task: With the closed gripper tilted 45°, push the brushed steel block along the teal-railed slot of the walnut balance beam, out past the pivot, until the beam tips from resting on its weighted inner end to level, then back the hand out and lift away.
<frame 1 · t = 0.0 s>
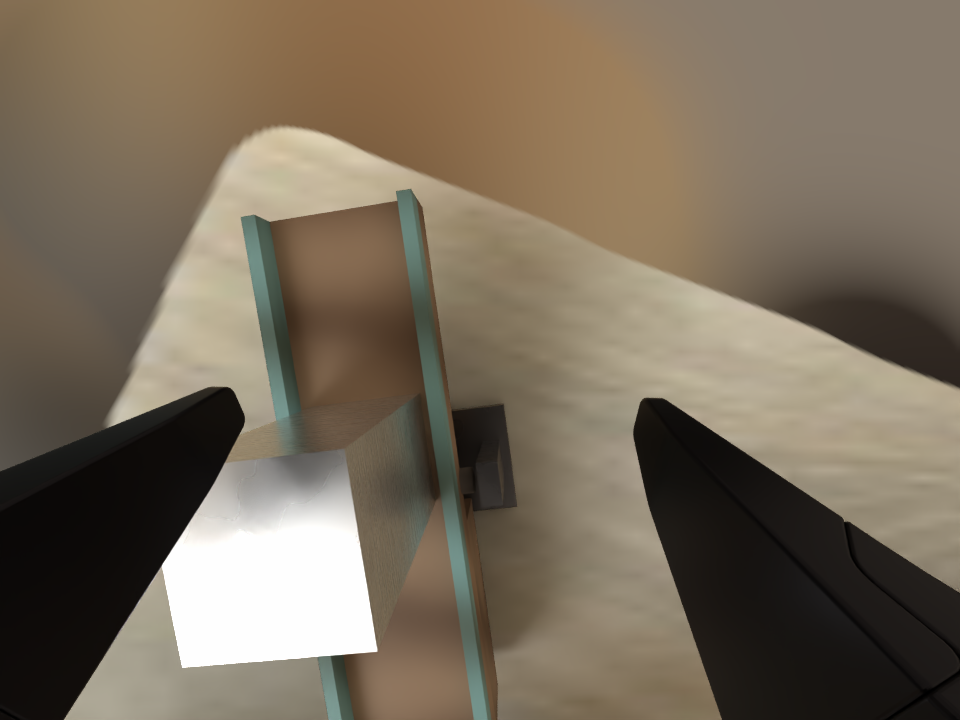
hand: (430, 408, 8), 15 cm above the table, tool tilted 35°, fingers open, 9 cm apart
balance beam: (389, 487, 18), point 5 cm above the table, hinge at -5.8°, touching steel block
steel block: (373, 454, 17), point 6 cm above the table, tilted 6°, touching balance beam
beam stand: (414, 463, 23), on the table
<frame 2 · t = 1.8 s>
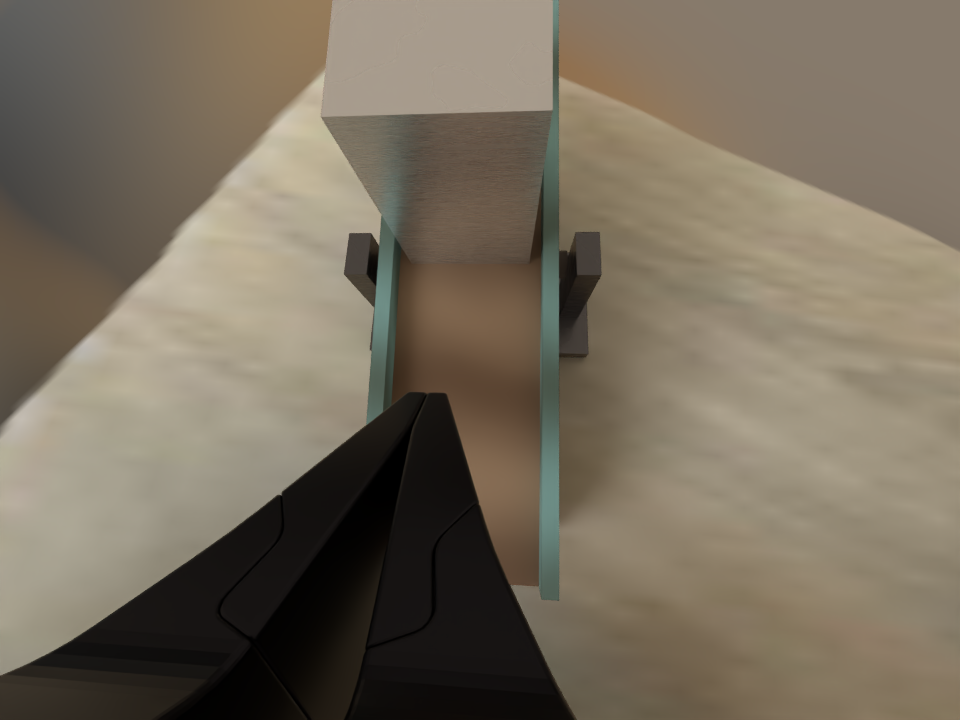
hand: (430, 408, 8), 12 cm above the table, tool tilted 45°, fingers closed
balance beam: (472, 265, 17), point 5 cm above the table, hinge at -5.4°, touching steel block
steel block: (471, 209, 16), point 6 cm above the table, tilted 5°, touching balance beam
beam stand: (479, 306, 22), on the table
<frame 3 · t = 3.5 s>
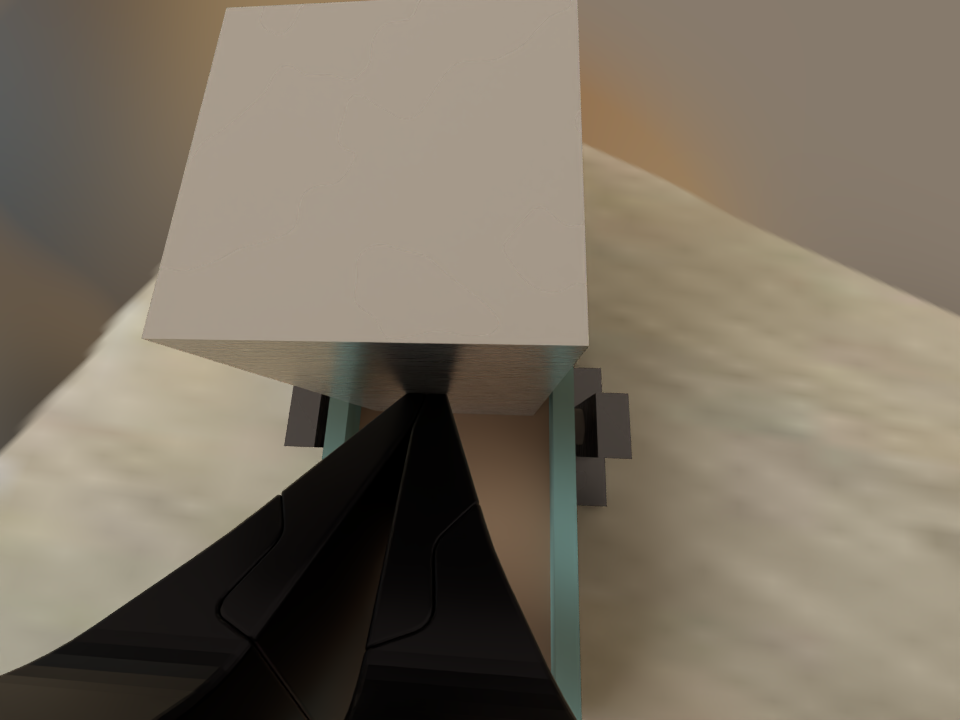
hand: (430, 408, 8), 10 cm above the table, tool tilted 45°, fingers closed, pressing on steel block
balance beam: (458, 422, 13), point 5 cm above the table, hinge at -0.4°
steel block: (457, 337, 12), point 6 cm above the table, touching gripper
beam stand: (470, 431, 18), on the table
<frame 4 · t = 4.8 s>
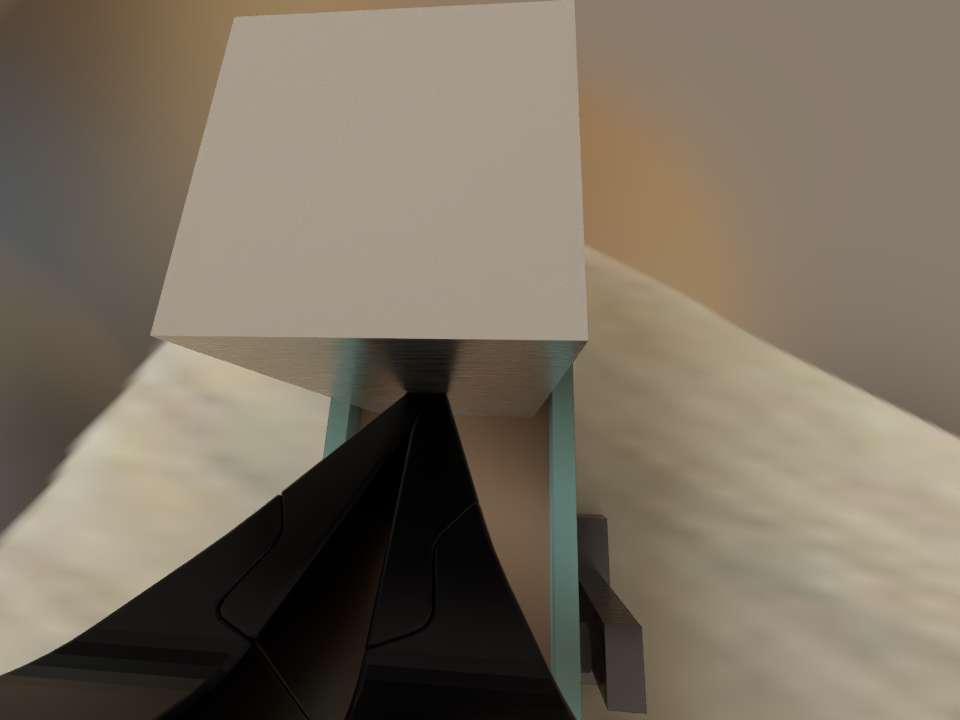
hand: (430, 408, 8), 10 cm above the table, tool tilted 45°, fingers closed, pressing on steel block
balance beam: (447, 634, 12), point 5 cm above the table, hinge at 0.4°
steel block: (457, 340, 13), point 6 cm above the table, touching gripper
beam stand: (464, 582, 16), on the table
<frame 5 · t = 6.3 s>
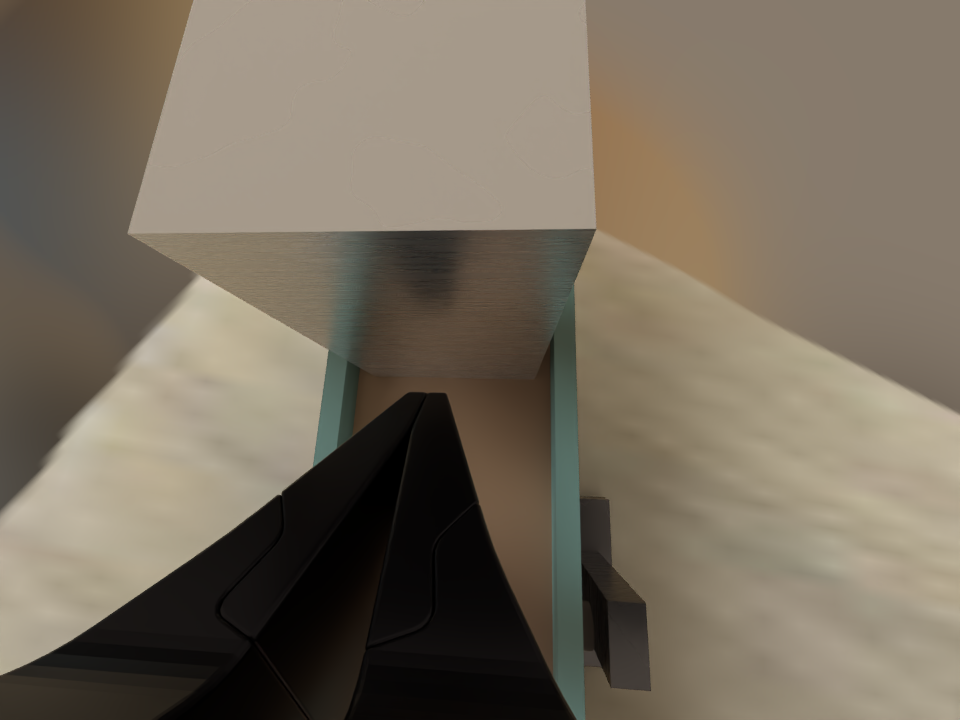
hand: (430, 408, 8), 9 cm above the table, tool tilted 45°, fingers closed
balance beam: (446, 613, 11), point 5 cm above the table, hinge at 0.3°, touching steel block
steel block: (457, 302, 12), point 6 cm above the table, touching balance beam
beam stand: (464, 565, 16), on the table
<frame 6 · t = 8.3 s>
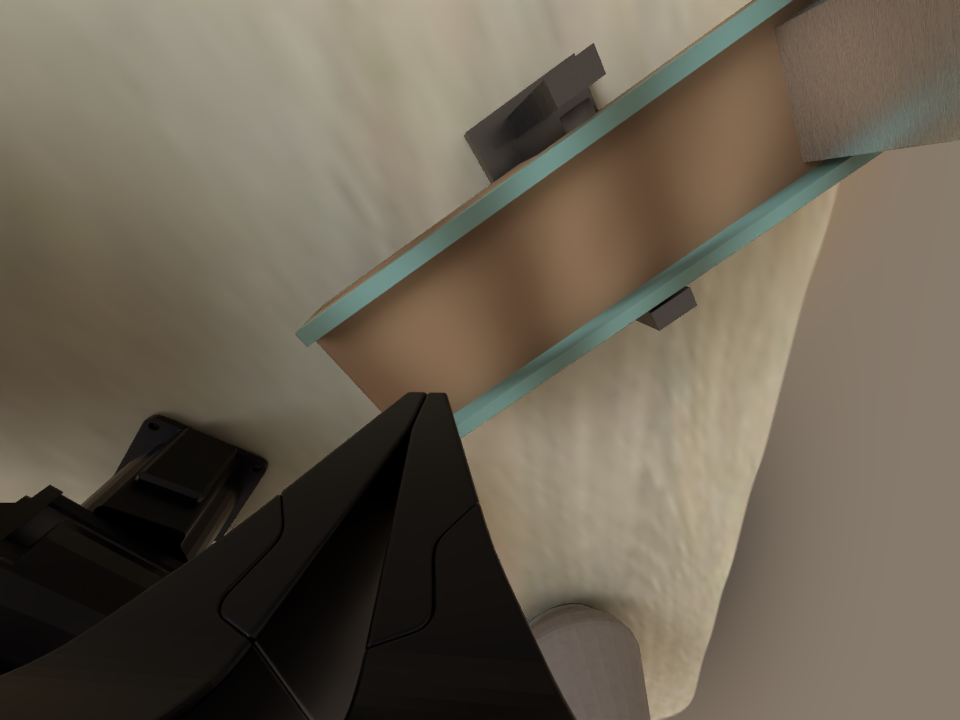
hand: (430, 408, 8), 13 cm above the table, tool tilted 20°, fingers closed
balance beam: (616, 208, 16), point 5 cm above the table, hinge at 0.2°, touching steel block
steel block: (847, 59, 14), point 6 cm above the table, touching balance beam
beam stand: (570, 210, 20), on the table
coffee pot: (505, 645, 33), on the table
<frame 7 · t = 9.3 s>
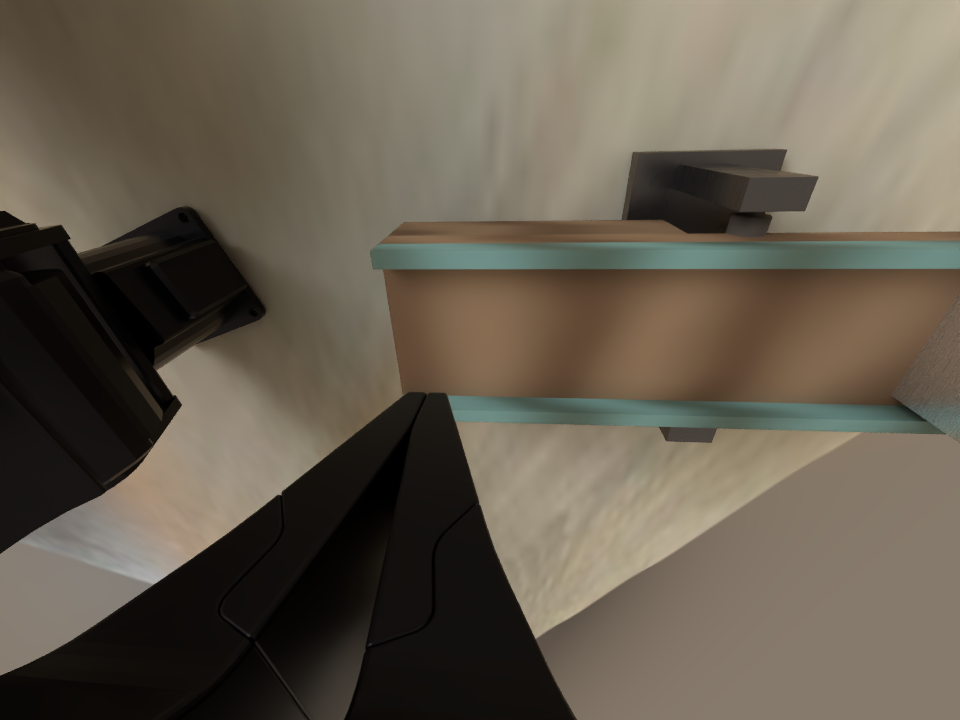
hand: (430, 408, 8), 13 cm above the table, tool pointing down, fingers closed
balance beam: (713, 322, 15), point 5 cm above the table, hinge at 0.2°, touching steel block
beam stand: (670, 282, 19), on the table
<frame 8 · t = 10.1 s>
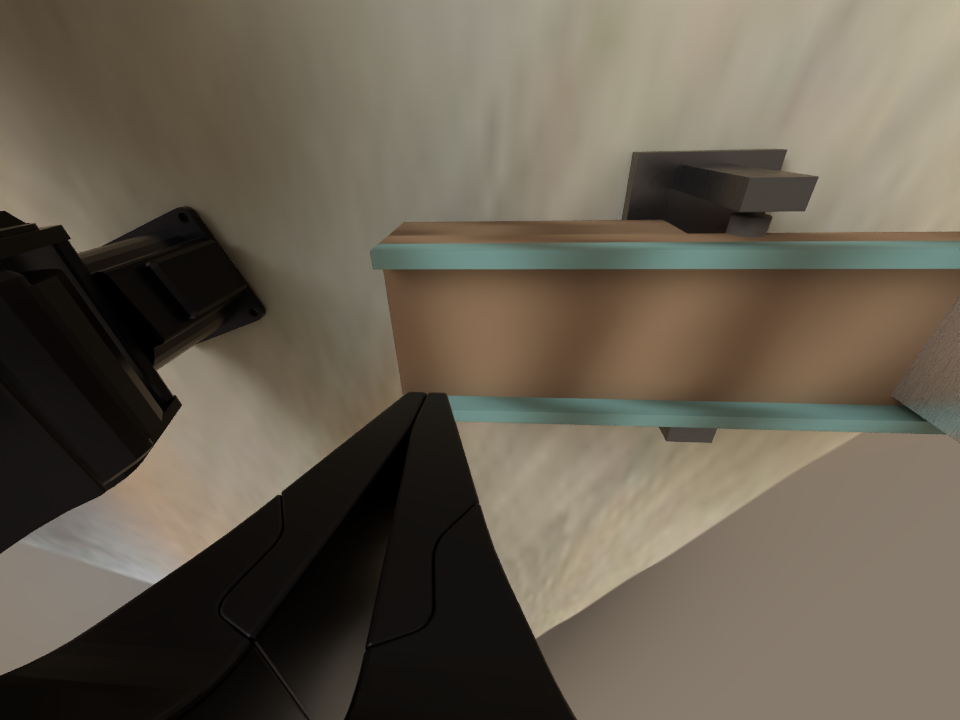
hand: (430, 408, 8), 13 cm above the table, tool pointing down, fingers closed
balance beam: (713, 322, 15), point 5 cm above the table, hinge at 0.2°, touching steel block
beam stand: (670, 282, 19), on the table
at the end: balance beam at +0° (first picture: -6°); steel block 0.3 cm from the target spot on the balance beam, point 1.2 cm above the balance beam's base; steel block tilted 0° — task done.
